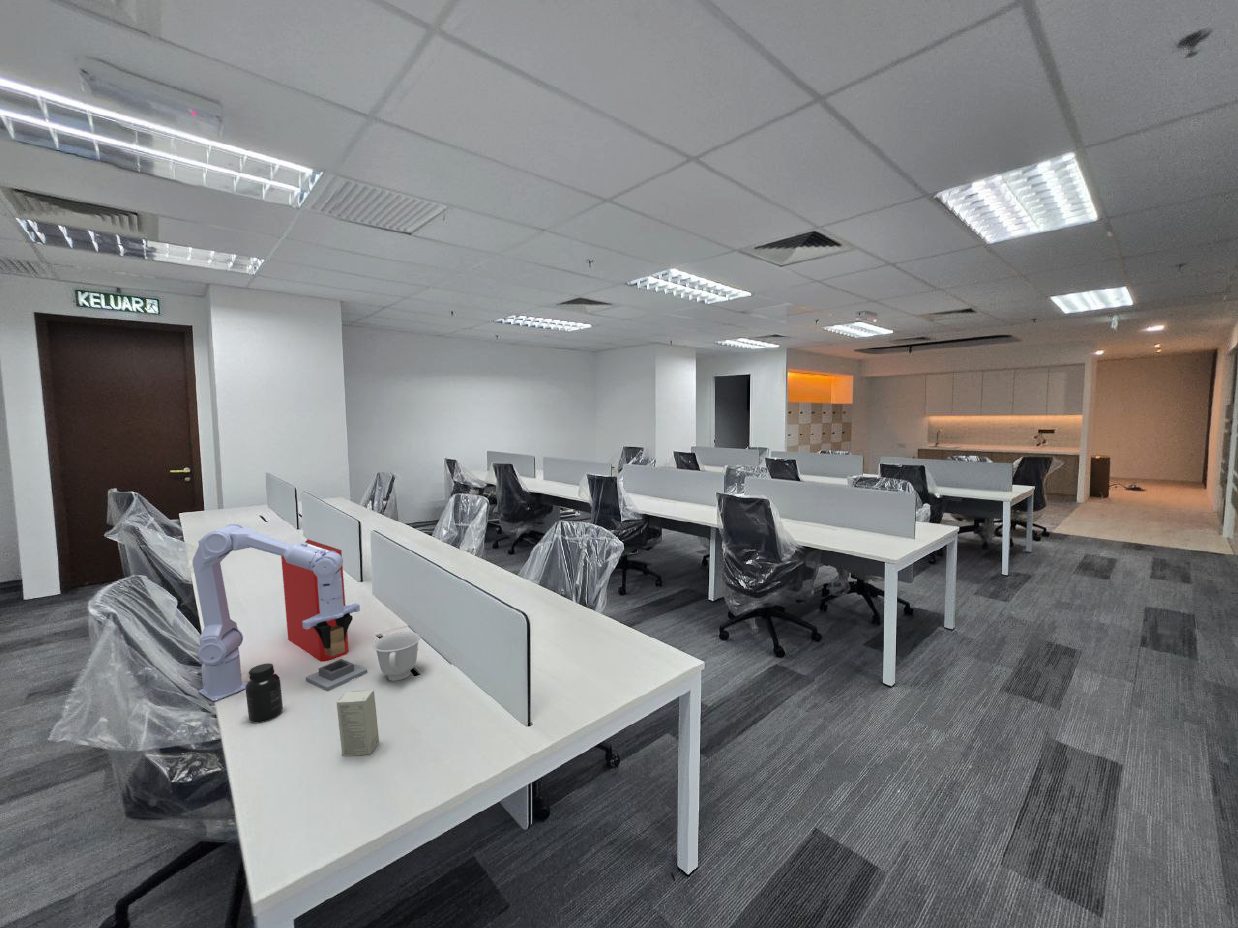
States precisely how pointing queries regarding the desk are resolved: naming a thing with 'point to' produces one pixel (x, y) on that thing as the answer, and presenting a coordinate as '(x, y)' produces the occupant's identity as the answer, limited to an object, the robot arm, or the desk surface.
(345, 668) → the stand
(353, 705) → the skincare box
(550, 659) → the desk surface
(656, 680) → the desk surface
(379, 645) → the teacup
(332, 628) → the oak peg
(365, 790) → the desk surface
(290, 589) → the book
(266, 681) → the supplement bottle
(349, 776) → the desk surface
